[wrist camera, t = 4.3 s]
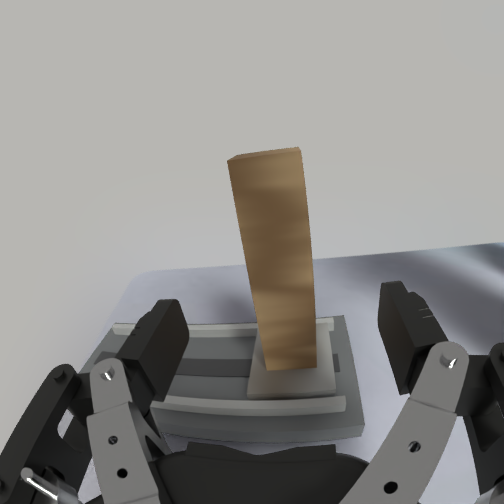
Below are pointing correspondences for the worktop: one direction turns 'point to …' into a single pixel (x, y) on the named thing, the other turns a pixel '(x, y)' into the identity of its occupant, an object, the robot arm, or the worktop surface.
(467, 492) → the worktop surface
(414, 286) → the worktop surface
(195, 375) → the grey slider track base
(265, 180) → the fader tab
